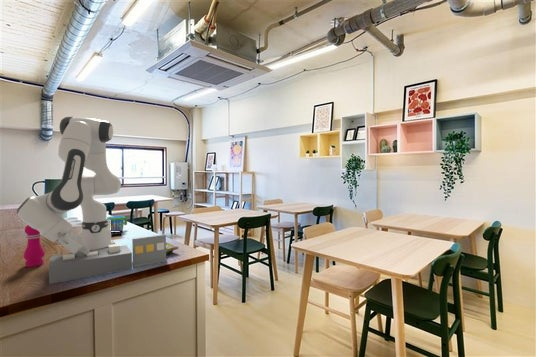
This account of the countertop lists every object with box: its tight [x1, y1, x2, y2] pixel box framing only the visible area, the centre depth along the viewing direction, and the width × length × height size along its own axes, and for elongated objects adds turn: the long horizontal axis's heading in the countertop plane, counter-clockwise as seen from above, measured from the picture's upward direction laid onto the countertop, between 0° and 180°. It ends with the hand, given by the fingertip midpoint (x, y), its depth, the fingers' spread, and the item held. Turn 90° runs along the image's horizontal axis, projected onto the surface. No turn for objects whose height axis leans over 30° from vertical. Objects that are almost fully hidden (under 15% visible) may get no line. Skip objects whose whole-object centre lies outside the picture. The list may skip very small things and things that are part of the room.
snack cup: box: [106, 215, 128, 232], centre depth 188 cm, size 16×10×10 cm
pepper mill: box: [23, 224, 46, 268], centre depth 125 cm, size 7×7×20 cm
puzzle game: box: [166, 241, 179, 255], centre depth 144 cm, size 12×5×20 cm
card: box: [132, 234, 168, 268], centre depth 128 cm, size 5×14×12 cm, turn 124°
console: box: [48, 244, 133, 285], centre depth 118 cm, size 14×28×7 cm, turn 124°
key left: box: [63, 254, 75, 260], centre depth 113 cm, size 4×4×4 cm
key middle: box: [87, 251, 98, 256], centre depth 118 cm, size 4×4×4 cm
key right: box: [107, 243, 121, 253], centre depth 122 cm, size 4×4×4 cm
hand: (88, 252), depth 117 cm, fingers closed, pressing on key middle
